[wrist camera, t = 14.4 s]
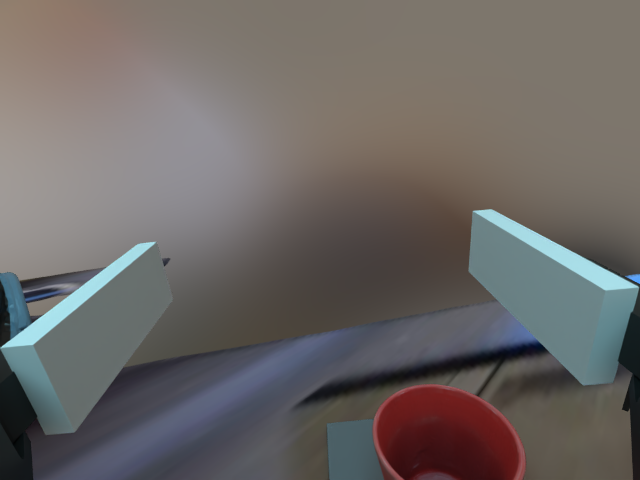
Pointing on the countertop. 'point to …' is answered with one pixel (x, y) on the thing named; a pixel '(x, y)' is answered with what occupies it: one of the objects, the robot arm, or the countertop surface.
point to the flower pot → (445, 437)
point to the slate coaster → (352, 451)
